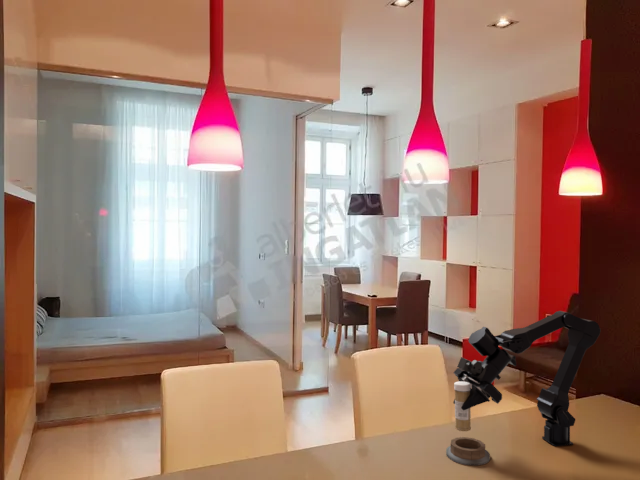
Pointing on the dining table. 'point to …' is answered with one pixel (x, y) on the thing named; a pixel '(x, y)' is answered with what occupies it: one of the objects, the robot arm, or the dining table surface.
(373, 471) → the dining table surface
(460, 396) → the sprinkles bottle
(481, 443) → the collar socket
